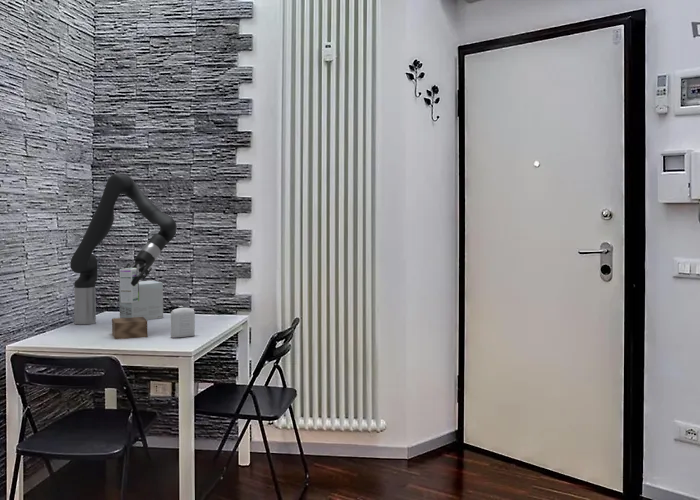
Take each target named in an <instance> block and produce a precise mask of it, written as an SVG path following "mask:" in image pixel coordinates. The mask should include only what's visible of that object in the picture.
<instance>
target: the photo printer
mask: <svg viewBox="0 0 700 500" xmlns="http://www.w3.org/2000/svg"><path fill="white" fill-rule="evenodd" d="M195 314H196V313H195V310H194V308H192V307H191V308H190V307H178V308H174V309H172V310H171V312H170V338H172V339H175V338H177V339H178V338H187V337H188V338H189V337H195V331H196V330H195V326H196V325H195V323H196V321H195V320H196V319H195V317H196V315H195Z"/></svg>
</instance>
